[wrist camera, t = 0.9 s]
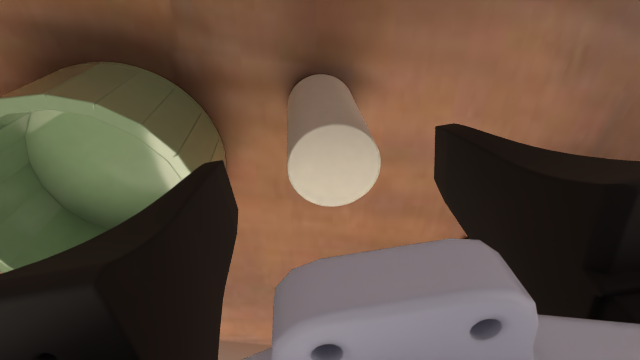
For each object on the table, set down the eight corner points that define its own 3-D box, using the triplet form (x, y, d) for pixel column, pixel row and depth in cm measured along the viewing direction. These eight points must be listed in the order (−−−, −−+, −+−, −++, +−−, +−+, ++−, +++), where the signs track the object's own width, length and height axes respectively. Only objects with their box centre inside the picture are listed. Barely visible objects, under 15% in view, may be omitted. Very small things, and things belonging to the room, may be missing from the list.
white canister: (366, 109, 20) (399, 169, 14) (317, 149, 21) (329, 222, 15) (323, 59, 19) (341, 103, 13) (273, 105, 20) (267, 166, 14)
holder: (265, 163, 22) (259, 219, 17) (150, 261, 25) (117, 332, 20) (97, 11, 17) (23, 29, 12) (-19, 155, 20) (-114, 214, 15)
